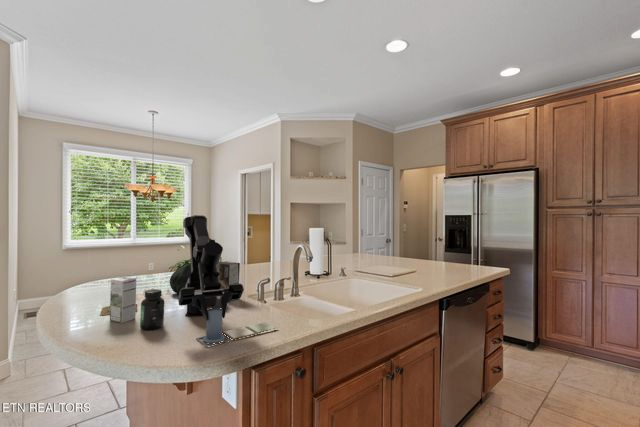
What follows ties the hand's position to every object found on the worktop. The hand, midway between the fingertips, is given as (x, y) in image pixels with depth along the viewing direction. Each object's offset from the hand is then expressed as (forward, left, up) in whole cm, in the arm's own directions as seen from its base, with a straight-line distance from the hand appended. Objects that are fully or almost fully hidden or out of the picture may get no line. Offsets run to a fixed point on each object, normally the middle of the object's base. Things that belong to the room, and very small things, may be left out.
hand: (215, 318), depth 95 cm
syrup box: (-36, +21, -7) cm, 42 cm away
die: (-8, +38, -7) cm, 39 cm away
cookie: (-43, +33, -7) cm, 55 cm away
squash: (-26, +60, -7) cm, 65 cm away
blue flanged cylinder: (-1, +1, -7) cm, 7 cm away
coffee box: (-6, +51, -7) cm, 52 cm away
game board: (+6, +6, -7) cm, 11 cm away
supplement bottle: (-23, +13, -7) cm, 27 cm away
